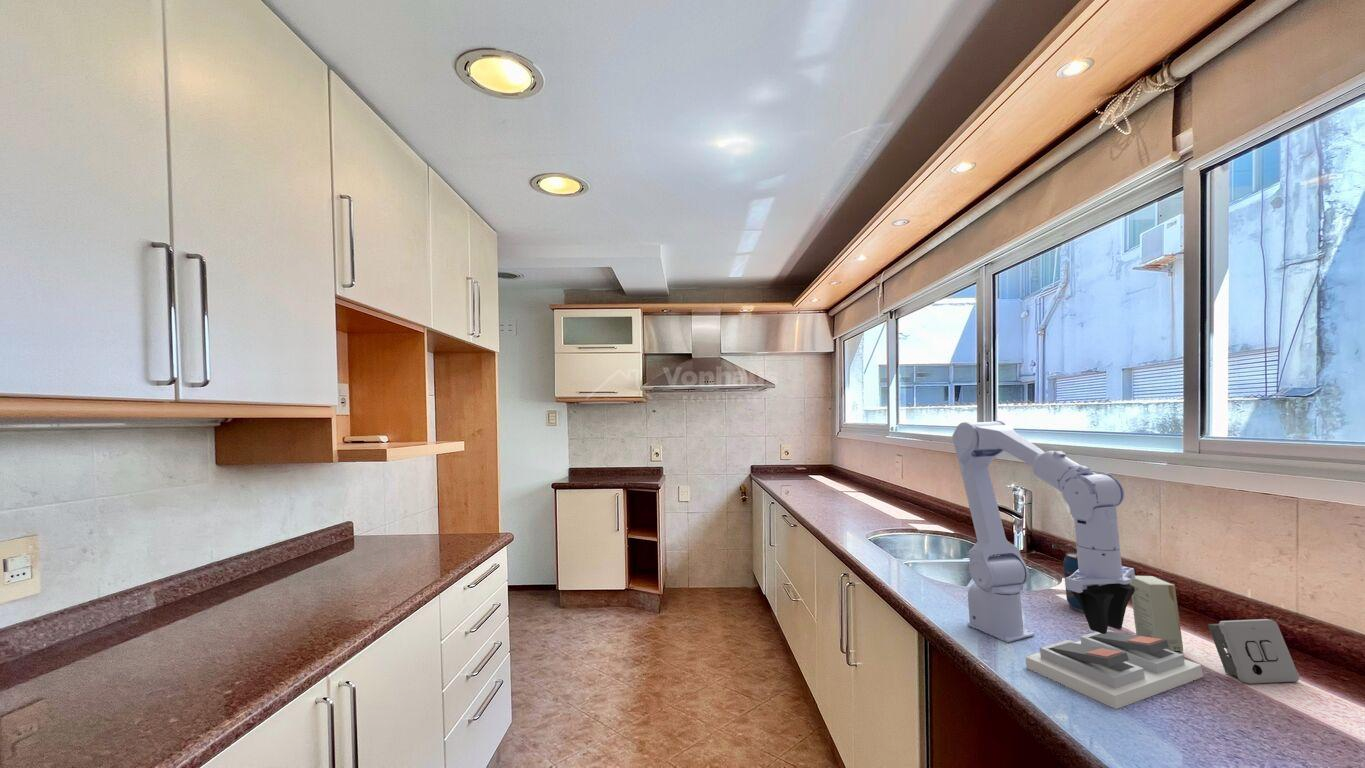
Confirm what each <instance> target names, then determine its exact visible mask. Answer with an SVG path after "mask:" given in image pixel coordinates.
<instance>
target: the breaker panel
mask: <svg viewBox="0 0 1365 768" xmlns="http://www.w3.org/2000/svg"><path fill="white" fill-rule="evenodd" d="M1109 631H1110V632H1115V631H1113V630H1110V629H1108V628H1107V632H1109ZM1099 634H1102V633H1099V632H1096V631H1094V632H1092V633H1089V634H1088V633H1087V634H1084V635H1081V636H1080V637H1079V638H1080V640H1078V641H1074V640H1073V641H1072V640H1070V639H1066V640H1063V641H1062V640H1061V641H1058V642H1056V643H1051V644H1048V645H1045V646H1041V647H1039V652H1036V653H1033V654H1030V655H1026V656H1025V669H1027V668H1028V669H1027V670H1030V671H1032V670H1033V671H1032V672H1034V671H1035V673H1036V672H1037V673H1036V674H1038V673H1039V675H1041V676H1043V677H1045V678H1047V677H1048V679H1049V678H1050V679H1049V680H1051V679H1053V680H1052V681H1054V682H1056V681H1057V682H1056V683H1058V682H1059V683H1058V684H1060V683H1061V684H1060V685H1062V684H1063V685H1062V686H1064V685H1065V687H1067V688H1069V689H1071V690H1074V691H1075V692H1078V693H1080V694H1082V695H1085V696H1086V697H1089V698H1091V699H1094V701H1095V700H1096V701H1098V702H1100V703H1102V704H1104V705H1107V706H1108V707H1110V708H1112V709H1114V710H1117V709H1120V708H1124V707H1126V706H1129V705H1131V704H1134V703H1137V702H1140V701H1143V700H1145V699H1147V698H1150V697H1152V696H1155V695H1158V694H1159V695H1160V694H1161V693H1164V692H1166V691H1169V690H1173V689H1174V688H1177V687H1180V686H1183V685H1186V684H1189V683H1191V682H1193V680H1194V681H1197V680H1200V679H1202V678H1203V677H1204V676H1203V668H1202V664H1200V663H1197V662H1194V661H1190V660H1189V659H1185V654H1182V653H1179V652H1178V651H1171V650H1168V649H1163V650H1160V651H1157V652H1154V653H1147V652H1141V651H1136V650H1130V649H1124V648H1118V647H1114V646H1111V645H1108V644H1105V643H1102V642H1100V641H1097V640H1094V639H1093V637H1092V636H1095V635H1099ZM1067 643H1076V644H1082V645H1087V646H1093V647H1099V648H1104V649H1110V650H1116V651H1121V652H1127V656H1128V659H1129V661H1126V662H1122V663H1119V664H1116V665H1113V666H1110V667H1109V666H1104V665H1099V664H1094V663H1089V662H1084V661H1079V660H1075V659H1071V658H1069V657H1066V656H1064V655H1062V654H1059V653H1057V652H1054V651H1053V650H1052V648H1053V647H1057V646H1060V645H1064V644H1067ZM1201 677H1202V678H1201Z"/></svg>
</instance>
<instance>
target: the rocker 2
mask: <svg viewBox="0 0 1365 768" xmlns="http://www.w3.org/2000/svg"><path fill="white" fill-rule="evenodd" d="M1092 637H1093V639H1094V640H1097V641H1100V642H1102V643H1105V644H1108V645H1111V646H1114V647H1118V648H1124V649H1130V650H1136V651H1141V652H1147V653H1154V652H1157V651H1160V650H1163V649H1166V648H1169V646H1168V643H1167V640H1164V639H1158V638H1151V637H1144V636H1137V635H1136V634H1129V633H1122V632H1118V631H1117V632H1116V631H1114V632H1110V631H1109V632H1107V633H1106V634H1099V635H1095V636H1092Z"/></svg>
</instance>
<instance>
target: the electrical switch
mask: <svg viewBox="0 0 1365 768" xmlns="http://www.w3.org/2000/svg"><path fill="white" fill-rule="evenodd" d="M1207 626H1208V629H1209V633H1210V635H1211V637H1212V639H1213V643H1214V646H1215V648H1216V651H1217V653H1218V656H1219V659H1220V661H1221V664H1222V666H1223V669H1224V673H1225V674H1227V673H1228V674H1227V675H1232V676H1235V677H1237V678H1238V679H1239V680H1240V681H1241V683H1243V682H1245V683H1244V684H1248V685H1249V684H1264V683H1265V684H1267V683H1287V682H1288V683H1290V682H1299V680H1300V675H1299V672H1298V669H1297V668H1296V665H1295V663H1294V660H1293V658H1292V656H1291V654H1290V651H1289V649H1288V646H1287V644H1286V642H1285V639H1284V636H1283V634H1282V632H1281V630H1280V627H1279V625H1278V622H1277V621H1275V620H1273V619H1268V618H1259V619H1236V620H1235V619H1233V620H1220V621H1219V623H1208V624H1207ZM1225 649H1226V650H1225Z"/></svg>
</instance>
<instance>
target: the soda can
mask: <svg viewBox="0 0 1365 768" xmlns="http://www.w3.org/2000/svg"><path fill="white" fill-rule="evenodd" d="M1062 561H1063V562H1062V563H1063V571H1064V573H1063V574H1064V579H1065V578H1066V577H1069V576H1071V575H1072V574H1073V573H1074V572H1076V571H1077V570H1078V569H1079V568H1078V558H1077V551H1072V552H1071V551H1069V552H1066V553H1065V557H1064V558H1063V560H1062ZM1064 584H1065V587H1066V581H1065V580H1064ZM1065 595H1066V602H1067V603H1068V605H1069V606H1070V607H1071V608H1072V609H1074V610H1076V611H1079V612H1083V609H1082V607H1081V605H1080V603H1079V602H1078V600H1077V598H1076V597H1075V596H1074V594H1073V593H1072V592H1071V591H1070V590H1067V589H1066V588H1065ZM1083 613H1084V612H1083Z"/></svg>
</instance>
